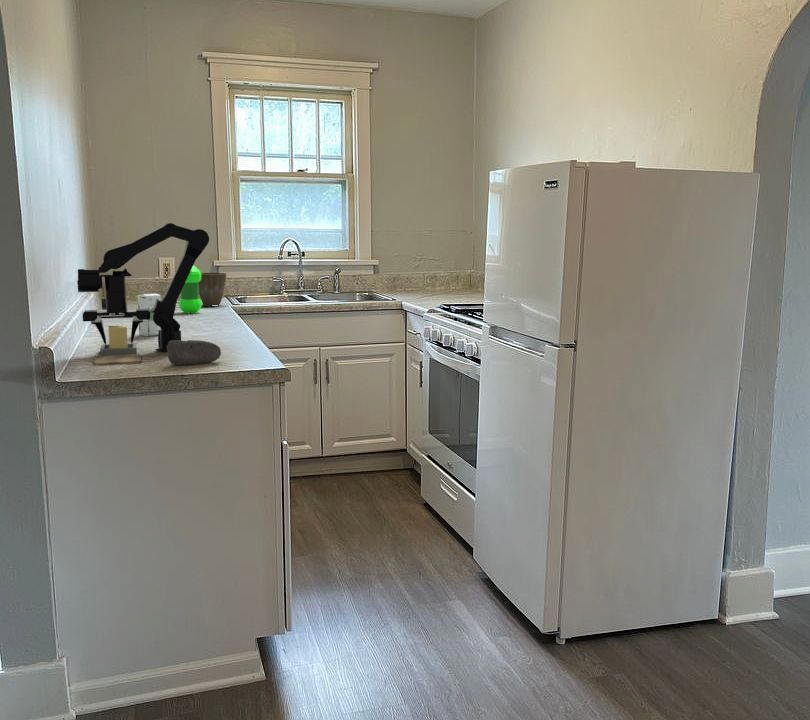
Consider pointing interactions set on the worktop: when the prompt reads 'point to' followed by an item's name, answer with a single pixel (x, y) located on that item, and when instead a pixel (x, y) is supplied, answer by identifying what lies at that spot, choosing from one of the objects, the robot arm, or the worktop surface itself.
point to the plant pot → (211, 288)
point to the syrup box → (148, 303)
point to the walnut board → (117, 359)
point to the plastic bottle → (191, 292)
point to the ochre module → (118, 337)
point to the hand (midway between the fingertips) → (118, 343)
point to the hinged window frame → (118, 350)
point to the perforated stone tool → (192, 352)
